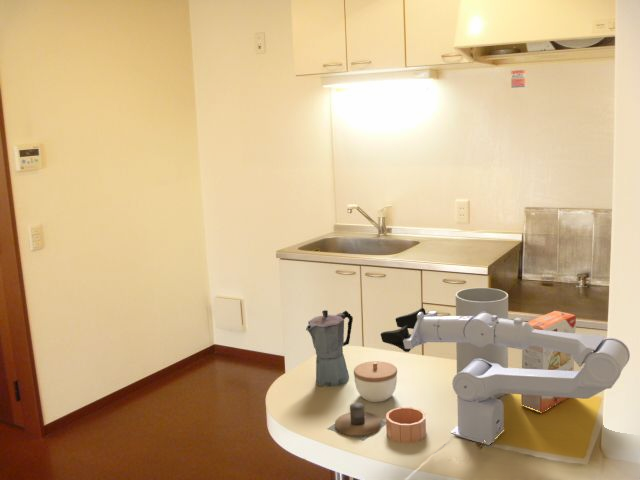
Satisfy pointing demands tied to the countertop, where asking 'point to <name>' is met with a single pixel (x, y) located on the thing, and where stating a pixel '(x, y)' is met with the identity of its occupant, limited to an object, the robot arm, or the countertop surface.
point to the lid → (357, 422)
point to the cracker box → (548, 356)
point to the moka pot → (330, 347)
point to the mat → (357, 436)
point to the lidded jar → (375, 380)
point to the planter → (406, 424)
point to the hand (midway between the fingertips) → (389, 329)
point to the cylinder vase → (471, 305)
